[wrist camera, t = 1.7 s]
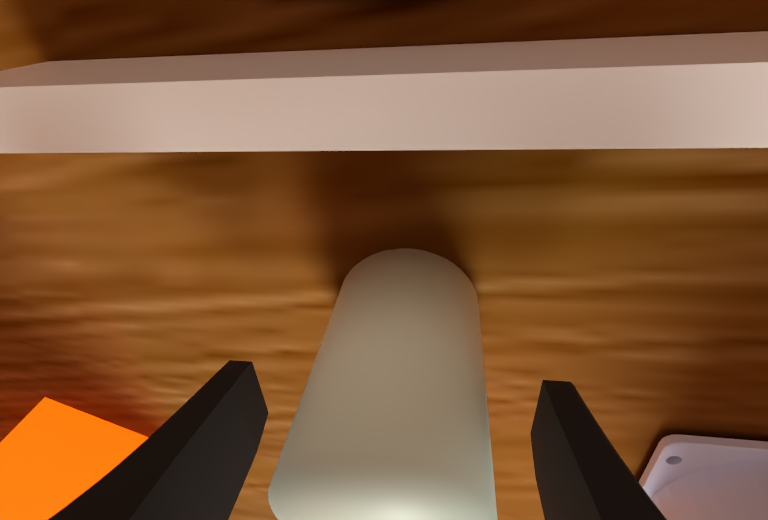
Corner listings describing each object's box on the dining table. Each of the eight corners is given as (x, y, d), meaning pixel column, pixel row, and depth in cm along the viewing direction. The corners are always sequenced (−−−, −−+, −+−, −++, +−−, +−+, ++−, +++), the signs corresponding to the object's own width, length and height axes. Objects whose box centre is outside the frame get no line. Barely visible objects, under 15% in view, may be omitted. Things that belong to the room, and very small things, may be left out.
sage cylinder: (473, 360, 14) (487, 582, 9) (346, 352, 15) (289, 556, 10) (484, 250, 12) (510, 465, 7) (332, 246, 13) (244, 440, 7)
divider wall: (827, 92, 9) (1013, 145, 6) (70, 109, 11) (-61, 153, 8) (860, 27, 8) (1087, 51, 5) (48, 61, 11) (-101, 91, 8)
